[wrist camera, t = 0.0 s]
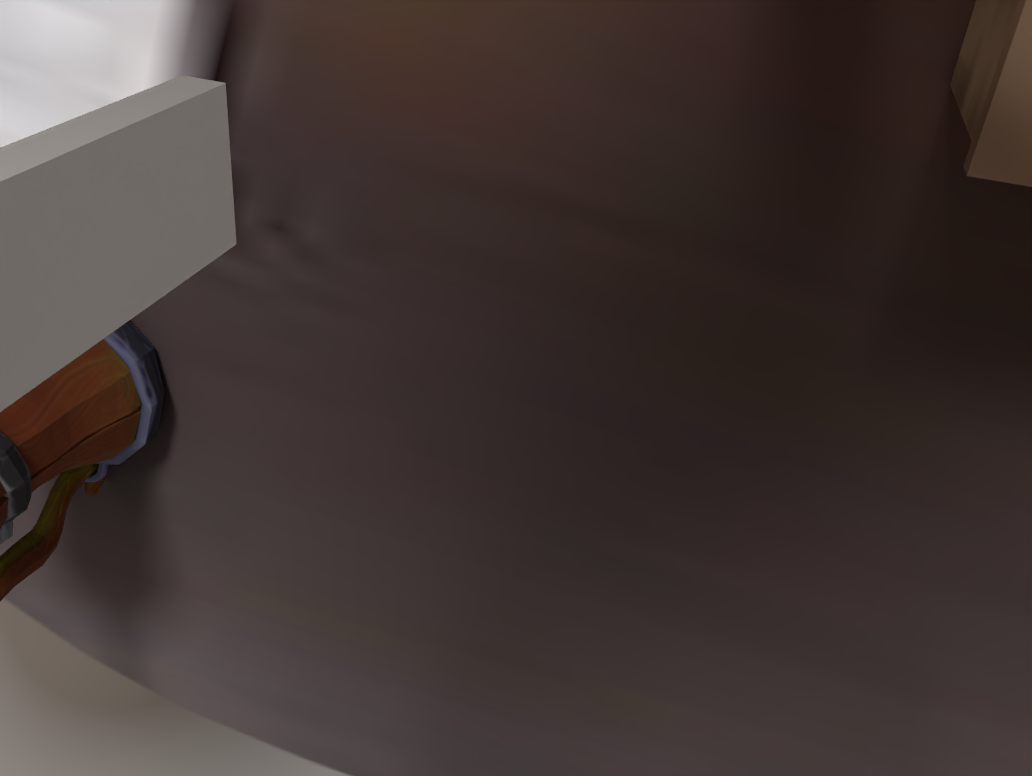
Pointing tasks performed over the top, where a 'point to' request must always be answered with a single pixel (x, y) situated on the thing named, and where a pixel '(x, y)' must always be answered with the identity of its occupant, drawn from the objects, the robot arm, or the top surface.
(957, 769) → the top surface
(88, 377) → the mug
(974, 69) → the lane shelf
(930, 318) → the top surface
